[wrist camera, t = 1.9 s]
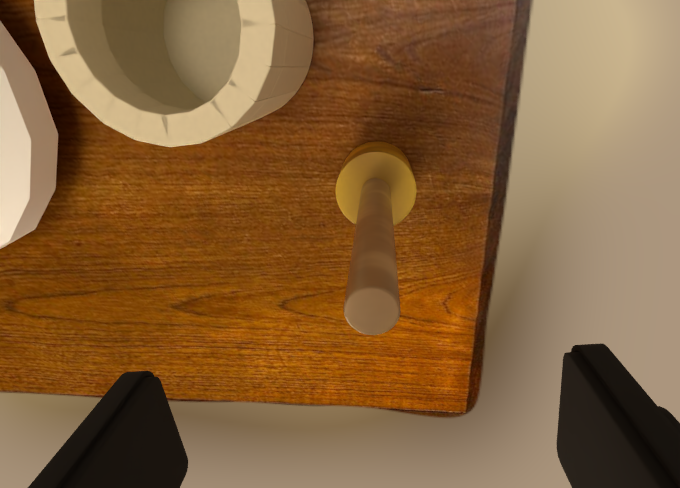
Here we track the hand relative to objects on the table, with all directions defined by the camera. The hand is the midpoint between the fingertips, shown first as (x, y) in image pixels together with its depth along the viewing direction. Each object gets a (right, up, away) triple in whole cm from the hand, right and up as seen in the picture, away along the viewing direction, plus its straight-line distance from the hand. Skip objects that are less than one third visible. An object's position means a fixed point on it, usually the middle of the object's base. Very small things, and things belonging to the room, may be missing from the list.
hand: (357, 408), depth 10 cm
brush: (+2, +9, +20) cm, 22 cm away
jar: (-7, +17, +18) cm, 25 cm away
